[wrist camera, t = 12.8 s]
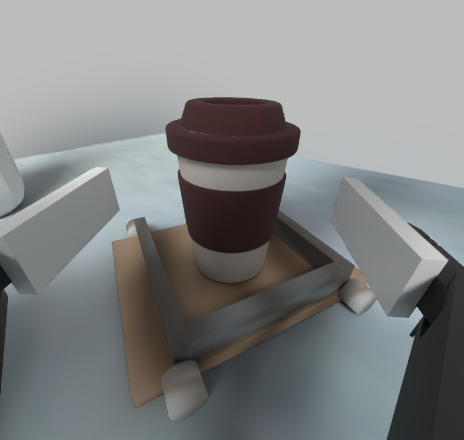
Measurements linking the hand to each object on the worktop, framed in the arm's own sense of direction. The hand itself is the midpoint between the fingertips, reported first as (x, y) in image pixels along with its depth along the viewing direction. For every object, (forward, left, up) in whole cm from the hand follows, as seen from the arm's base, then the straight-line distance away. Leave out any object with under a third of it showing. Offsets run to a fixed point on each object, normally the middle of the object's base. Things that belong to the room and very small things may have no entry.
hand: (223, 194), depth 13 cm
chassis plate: (-4, -6, -12) cm, 14 cm away
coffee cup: (-3, -5, -11) cm, 13 cm away
